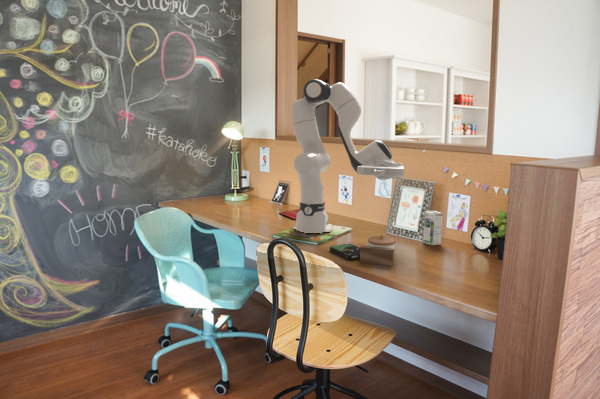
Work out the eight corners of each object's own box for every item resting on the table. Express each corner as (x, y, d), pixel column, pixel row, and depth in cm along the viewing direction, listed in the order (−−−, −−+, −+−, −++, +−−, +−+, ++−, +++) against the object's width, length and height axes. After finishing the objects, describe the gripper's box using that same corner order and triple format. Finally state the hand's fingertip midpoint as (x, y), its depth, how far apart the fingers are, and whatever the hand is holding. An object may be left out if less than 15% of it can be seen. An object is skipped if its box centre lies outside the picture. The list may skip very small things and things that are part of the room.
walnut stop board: (360, 260, 181) (361, 245, 180) (393, 264, 177) (393, 248, 176) (359, 262, 179) (360, 247, 178) (392, 265, 175) (393, 250, 174)
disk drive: (370, 259, 185) (349, 249, 198) (370, 252, 185) (349, 242, 197) (348, 262, 180) (328, 252, 193) (348, 255, 180) (328, 245, 193)
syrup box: (422, 242, 209) (424, 210, 207) (433, 241, 211) (435, 210, 209) (430, 245, 204) (432, 213, 201) (441, 244, 206) (443, 212, 204)
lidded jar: (400, 260, 182) (401, 236, 181) (379, 264, 177) (380, 240, 175) (381, 253, 191) (382, 231, 190) (361, 256, 186) (362, 234, 184)
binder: (301, 208, 276) (319, 214, 258) (302, 212, 276) (319, 219, 258) (277, 211, 269) (293, 218, 250) (277, 215, 269) (294, 222, 251)
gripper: (360, 161, 211) (353, 164, 198) (406, 163, 205) (402, 166, 192) (359, 175, 212) (353, 178, 199) (405, 177, 206) (401, 181, 193)
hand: (377, 172), depth 196 cm, fingers closed
